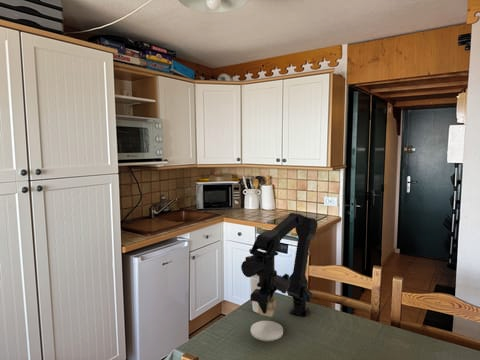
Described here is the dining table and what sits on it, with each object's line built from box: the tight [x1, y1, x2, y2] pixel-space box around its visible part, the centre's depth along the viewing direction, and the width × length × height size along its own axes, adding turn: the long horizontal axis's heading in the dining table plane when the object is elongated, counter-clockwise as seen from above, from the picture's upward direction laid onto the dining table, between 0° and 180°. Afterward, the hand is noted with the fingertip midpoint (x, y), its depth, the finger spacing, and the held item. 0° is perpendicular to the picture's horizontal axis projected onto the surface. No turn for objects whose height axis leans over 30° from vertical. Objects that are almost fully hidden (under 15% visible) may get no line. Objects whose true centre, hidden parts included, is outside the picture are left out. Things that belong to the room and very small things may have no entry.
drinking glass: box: [249, 275, 261, 314], centre depth 141 cm, size 7×7×15 cm
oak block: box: [257, 296, 277, 318], centre depth 125 cm, size 5×5×5 cm
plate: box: [250, 320, 284, 342], centre depth 126 cm, size 12×12×1 cm
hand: (266, 309), depth 125 cm, fingers closed on oak block, 5 cm apart
